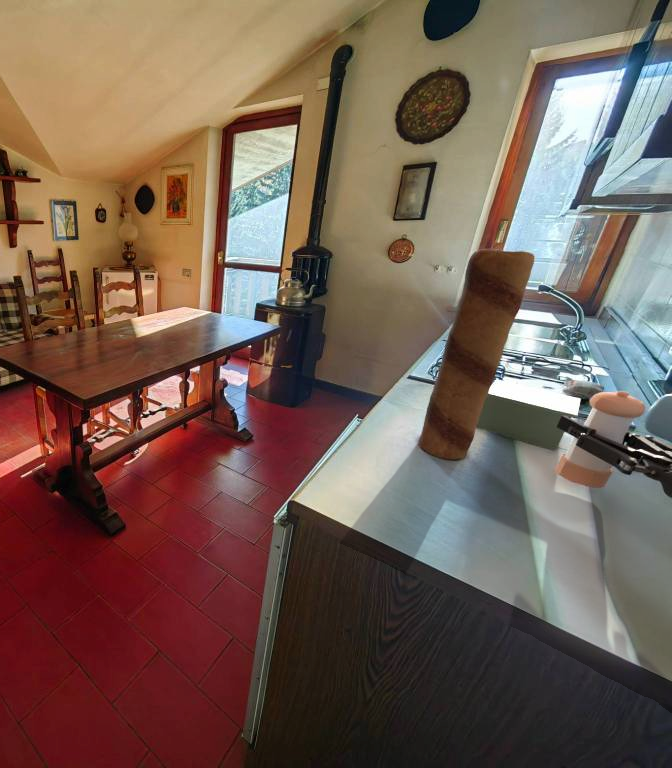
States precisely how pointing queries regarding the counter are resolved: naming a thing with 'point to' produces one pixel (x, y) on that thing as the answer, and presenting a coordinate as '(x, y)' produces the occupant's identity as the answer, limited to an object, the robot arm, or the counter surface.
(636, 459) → the robot arm
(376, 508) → the counter surface
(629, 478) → the counter surface
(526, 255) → the wafer roll
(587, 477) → the pepper shaker
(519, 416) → the green box
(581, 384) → the packaged food
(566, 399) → the lid
